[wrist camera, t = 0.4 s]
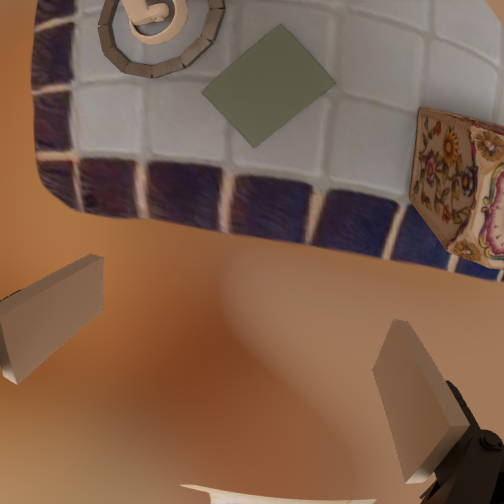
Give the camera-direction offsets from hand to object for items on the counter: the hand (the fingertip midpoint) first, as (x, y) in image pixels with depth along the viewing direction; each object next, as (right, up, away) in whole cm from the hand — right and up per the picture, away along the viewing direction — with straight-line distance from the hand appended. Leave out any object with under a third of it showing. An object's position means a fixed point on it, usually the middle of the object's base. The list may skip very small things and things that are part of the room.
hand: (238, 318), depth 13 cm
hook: (-10, +31, +15) cm, 36 cm away
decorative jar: (+25, +14, +18) cm, 34 cm away
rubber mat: (+2, +21, +18) cm, 28 cm away
